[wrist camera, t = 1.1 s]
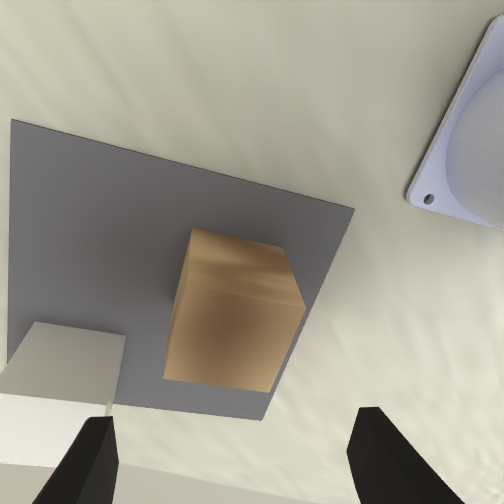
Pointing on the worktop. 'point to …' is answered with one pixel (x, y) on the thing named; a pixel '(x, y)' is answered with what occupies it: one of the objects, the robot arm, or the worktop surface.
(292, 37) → the worktop surface
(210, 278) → the oak block
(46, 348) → the grey block
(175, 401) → the mat
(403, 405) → the worktop surface
